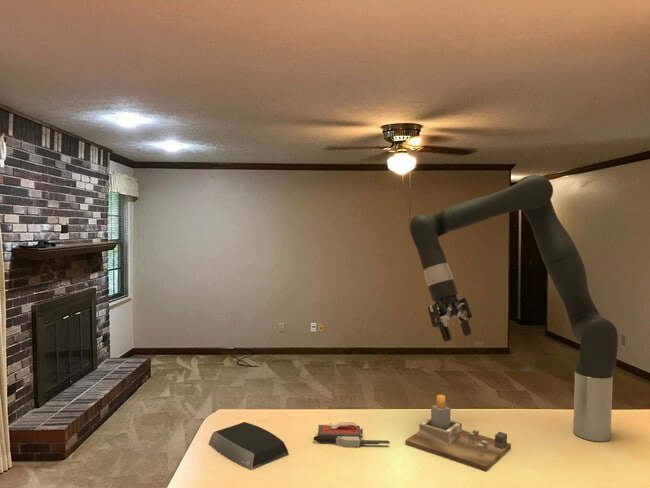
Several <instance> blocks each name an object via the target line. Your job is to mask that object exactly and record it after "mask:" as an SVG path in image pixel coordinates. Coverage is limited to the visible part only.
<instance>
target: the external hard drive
mask: <svg viewBox="0 0 650 488" xmlns="http://www.w3.org/2000/svg"><path fill="white" fill-rule="evenodd" d="M208 446H210V447H212V448H213V449H214V450H215V451H217V452H218V453H220V454H221V455H222V456H224V457H225V458H227V459H229V460H230V461H232V462H234V463H235V464H237V465H240V466H242V467H244V468H246V469H248V470H250V471H253V470H255V469H258V468H260V467H263V466H265V465H267V464H270V463H272V462H275V461H277V460H280V459H282V458H284V457H287V456H289V455H290V454H289V450H288V448H287V445H286V444H285V442H284V441H283V440H282V439H281V438H279V436H277V435H275V434H273V432H270V431H268V430H267V429H265V428H263V427H260V426H258V425H255V424H253V423H249V422H246V421H243V422H240V423H238V424H233V425H231V426H227V427H225V428H221V429H219V430H215V431H213V432H212V434H211V436H210V438H209V441H208Z"/></svg>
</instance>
